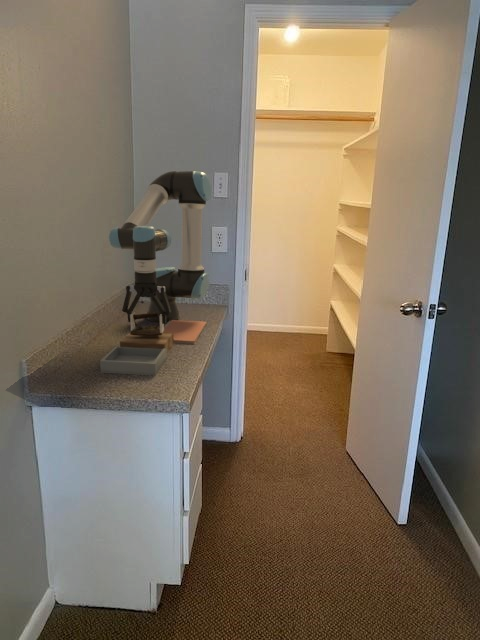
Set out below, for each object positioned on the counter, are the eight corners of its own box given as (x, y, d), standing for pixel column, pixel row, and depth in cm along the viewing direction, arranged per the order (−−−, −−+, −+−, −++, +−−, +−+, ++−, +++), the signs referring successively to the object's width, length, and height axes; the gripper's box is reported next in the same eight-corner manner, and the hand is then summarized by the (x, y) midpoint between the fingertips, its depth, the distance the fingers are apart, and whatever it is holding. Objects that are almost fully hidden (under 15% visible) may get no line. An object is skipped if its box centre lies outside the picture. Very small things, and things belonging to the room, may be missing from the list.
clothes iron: (164, 335, 164) (157, 311, 160) (134, 345, 161) (126, 320, 157) (160, 328, 170) (154, 304, 166) (131, 337, 167) (123, 313, 163)
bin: (117, 355, 160) (116, 345, 159) (167, 358, 159) (166, 347, 158) (100, 372, 145) (99, 360, 144) (155, 375, 144) (155, 363, 143)
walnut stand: (132, 342, 174) (132, 330, 172) (173, 344, 173) (173, 332, 171) (120, 355, 160) (119, 342, 159) (164, 357, 159) (164, 344, 158)
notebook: (169, 323, 202) (169, 319, 201) (206, 325, 200) (206, 321, 199) (152, 343, 175) (151, 338, 175) (194, 345, 174) (194, 340, 173)
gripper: (110, 271, 156) (113, 332, 162) (174, 274, 154) (175, 335, 160) (117, 268, 163) (120, 326, 169) (179, 270, 161) (180, 329, 167)
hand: (147, 331), depth 165 cm, fingers closed on clothes iron, 10 cm apart
